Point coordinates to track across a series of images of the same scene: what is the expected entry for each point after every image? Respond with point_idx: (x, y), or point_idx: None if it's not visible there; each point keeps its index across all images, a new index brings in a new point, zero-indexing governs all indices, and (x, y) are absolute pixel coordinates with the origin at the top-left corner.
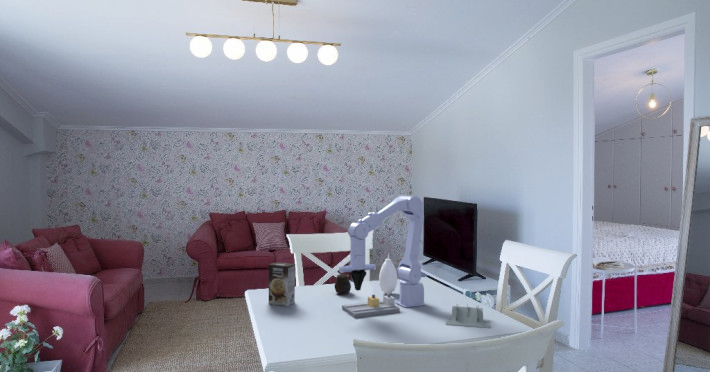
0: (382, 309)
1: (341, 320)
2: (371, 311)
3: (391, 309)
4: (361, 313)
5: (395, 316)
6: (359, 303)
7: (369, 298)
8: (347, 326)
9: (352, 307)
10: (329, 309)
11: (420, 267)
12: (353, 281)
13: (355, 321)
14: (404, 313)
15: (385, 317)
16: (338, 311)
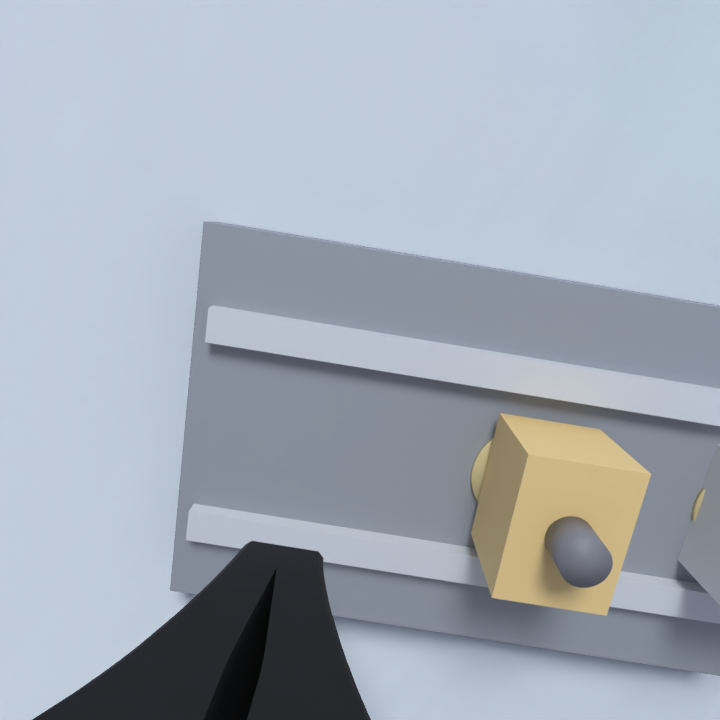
0: (537, 620)
1: (35, 560)
2: (384, 617)
3: (625, 659)
4: None
5: (565, 717)
6: (463, 271)
7: (511, 507)
8: (17, 713)
9: (279, 380)
10: (72, 143)
11: None
12: (142, 652)
13: None
14: (709, 693)
15: (464, 694)
16: (139, 281)
